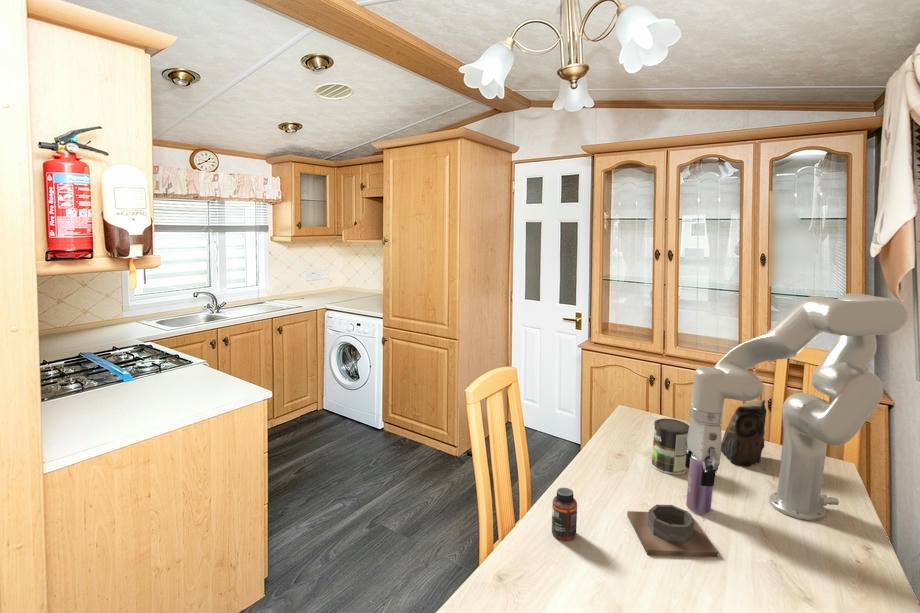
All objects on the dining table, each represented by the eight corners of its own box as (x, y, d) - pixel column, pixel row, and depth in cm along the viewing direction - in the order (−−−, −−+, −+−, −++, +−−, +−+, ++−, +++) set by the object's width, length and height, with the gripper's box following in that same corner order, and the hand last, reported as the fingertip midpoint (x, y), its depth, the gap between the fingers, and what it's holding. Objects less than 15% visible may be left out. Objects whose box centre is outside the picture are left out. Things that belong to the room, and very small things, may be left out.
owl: (761, 455, 167) (767, 397, 164) (770, 472, 156) (777, 410, 153) (719, 449, 172) (724, 393, 169) (724, 465, 160) (730, 405, 157)
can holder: (689, 517, 131) (690, 498, 130) (717, 556, 116) (719, 536, 115) (627, 515, 132) (628, 497, 131) (647, 554, 116) (648, 534, 115)
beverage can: (713, 516, 132) (718, 462, 129) (689, 513, 133) (693, 460, 130) (707, 504, 137) (711, 452, 135) (683, 501, 139) (688, 450, 136)
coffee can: (655, 473, 154) (658, 430, 152) (648, 458, 164) (650, 417, 162) (691, 476, 153) (694, 432, 151) (681, 460, 163) (684, 419, 161)
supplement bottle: (577, 529, 125) (579, 487, 124) (574, 543, 120) (576, 499, 118) (553, 525, 127) (554, 483, 126) (549, 538, 122) (551, 495, 120)
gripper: (737, 428, 122) (729, 494, 125) (705, 404, 139) (699, 462, 142) (706, 427, 122) (698, 492, 125) (678, 402, 140) (672, 460, 142)
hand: (698, 476), depth 134 cm, fingers open, 9 cm apart
